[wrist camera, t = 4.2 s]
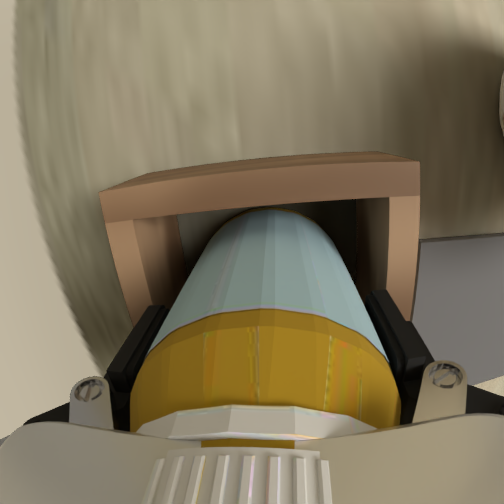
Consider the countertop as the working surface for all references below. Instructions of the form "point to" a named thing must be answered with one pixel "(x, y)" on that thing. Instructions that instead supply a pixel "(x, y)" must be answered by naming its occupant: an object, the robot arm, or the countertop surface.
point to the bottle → (261, 367)
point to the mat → (462, 302)
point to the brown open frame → (259, 194)
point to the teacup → (502, 104)
